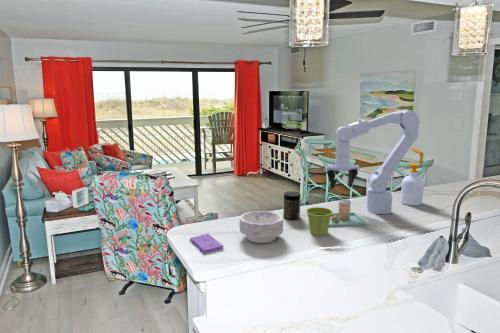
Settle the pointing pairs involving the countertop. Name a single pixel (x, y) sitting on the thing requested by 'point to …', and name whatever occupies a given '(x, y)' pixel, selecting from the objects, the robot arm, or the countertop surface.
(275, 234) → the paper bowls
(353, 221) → the tray
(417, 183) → the soap bottle
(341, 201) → the shaker
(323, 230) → the plant pot
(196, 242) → the sponges
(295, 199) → the supplement container
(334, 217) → the ball
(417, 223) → the countertop surface
